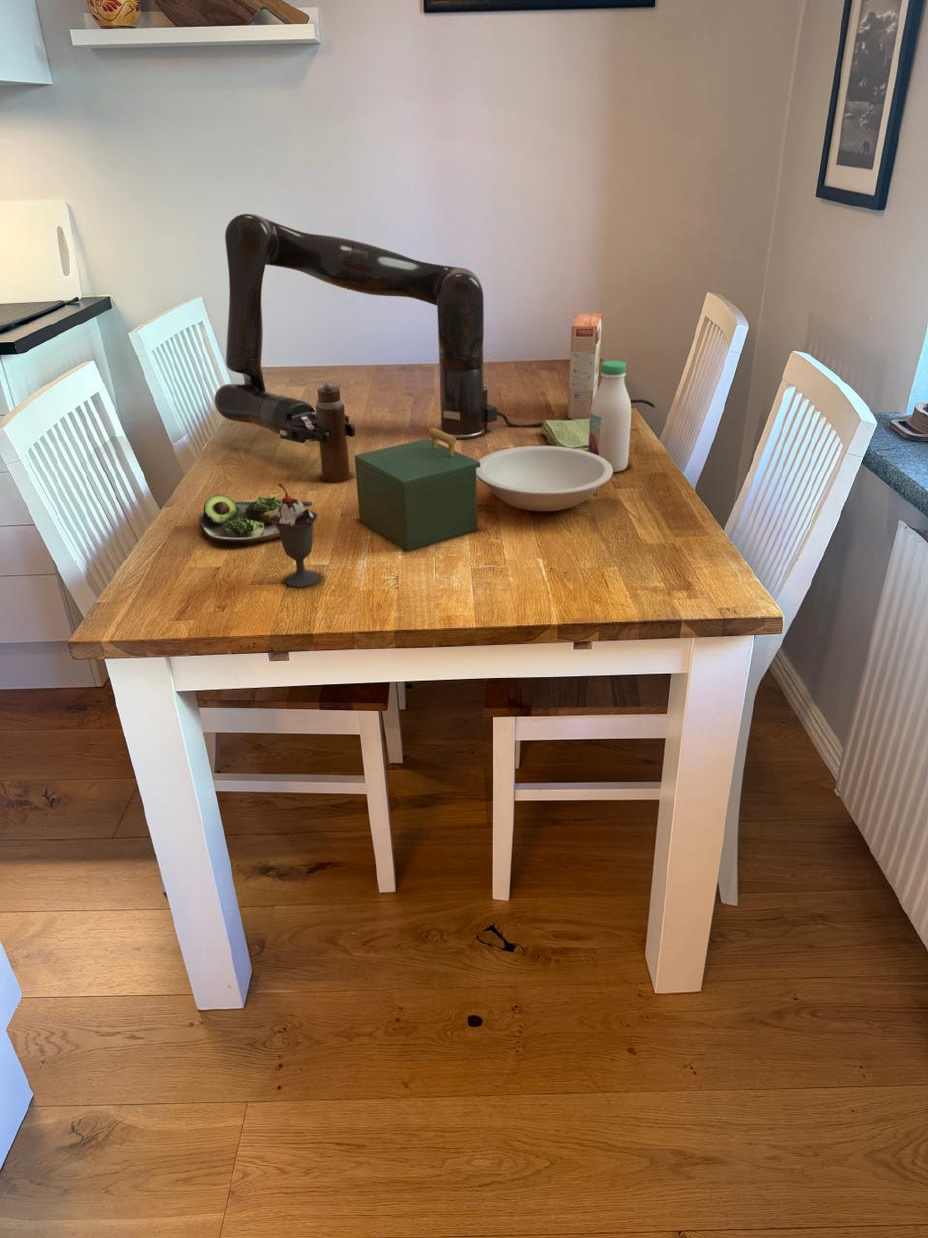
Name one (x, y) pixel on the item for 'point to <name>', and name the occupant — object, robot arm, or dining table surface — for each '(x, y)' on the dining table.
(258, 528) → the salad plate
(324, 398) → the pepper mill
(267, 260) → the robot arm
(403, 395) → the dining table surface
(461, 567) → the dining table surface
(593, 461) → the soup bowl
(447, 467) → the bin lid
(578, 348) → the cracker box
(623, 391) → the milk bottle
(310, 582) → the sundae
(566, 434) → the washcloth
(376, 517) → the bin
